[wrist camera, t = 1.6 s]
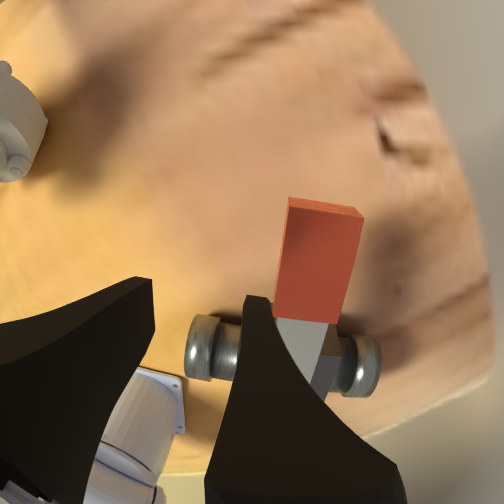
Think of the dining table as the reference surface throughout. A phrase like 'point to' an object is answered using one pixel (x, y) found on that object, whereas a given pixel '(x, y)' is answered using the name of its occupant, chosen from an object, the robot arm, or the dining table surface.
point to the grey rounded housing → (18, 126)
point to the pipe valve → (326, 371)
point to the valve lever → (313, 275)
